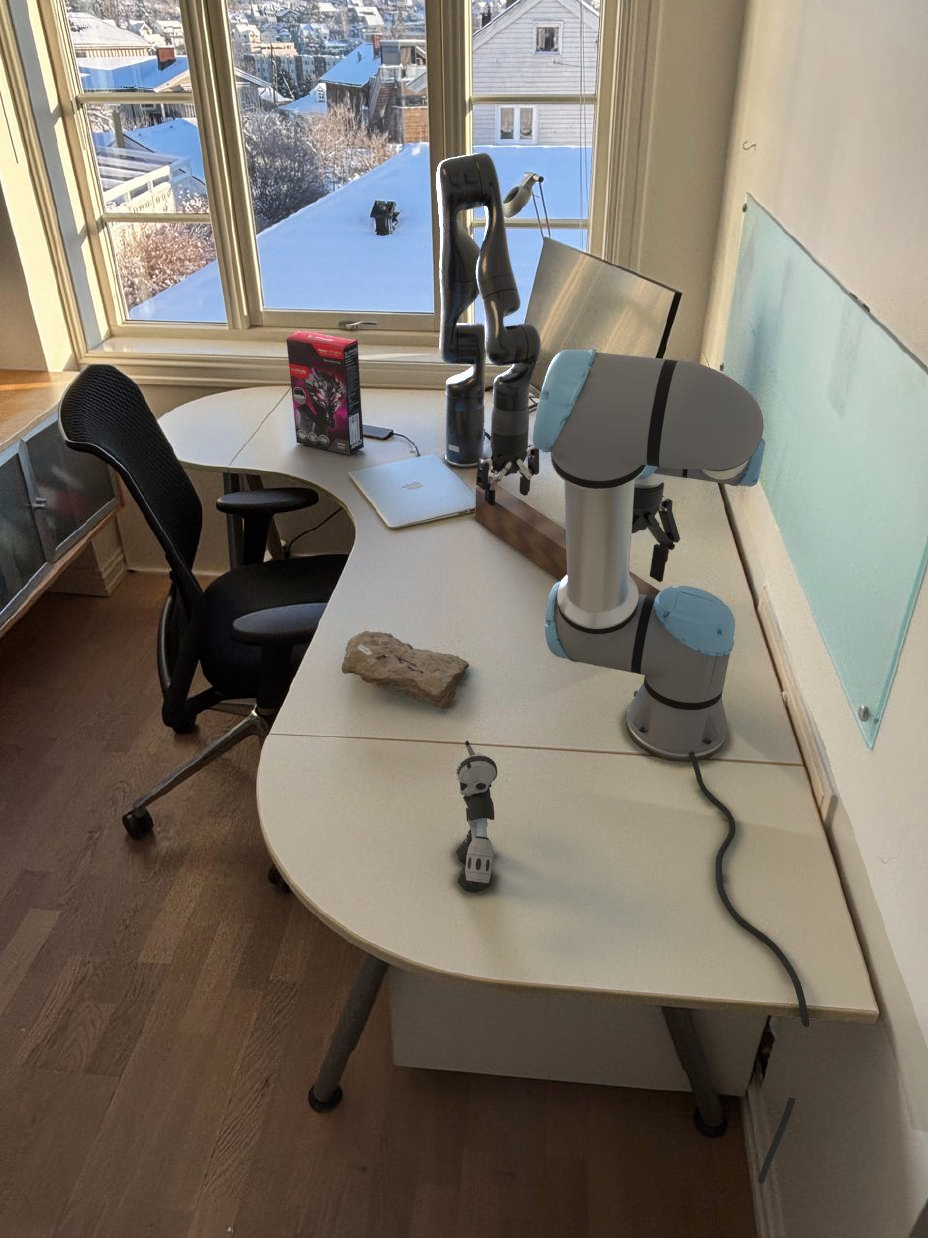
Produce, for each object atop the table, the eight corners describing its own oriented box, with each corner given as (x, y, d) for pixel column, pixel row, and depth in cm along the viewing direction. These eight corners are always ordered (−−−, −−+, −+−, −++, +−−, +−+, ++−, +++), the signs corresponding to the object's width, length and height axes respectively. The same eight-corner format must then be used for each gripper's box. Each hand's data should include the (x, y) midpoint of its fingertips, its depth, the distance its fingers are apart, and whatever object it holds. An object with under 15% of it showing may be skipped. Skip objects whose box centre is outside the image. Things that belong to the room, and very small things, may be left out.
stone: (317, 681, 147) (323, 648, 145) (352, 647, 161) (358, 617, 158) (439, 725, 144) (448, 692, 141) (465, 687, 157) (473, 656, 155)
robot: (499, 928, 112) (505, 811, 101) (459, 930, 112) (460, 812, 101) (488, 811, 128) (491, 699, 117) (453, 812, 128) (453, 700, 117)
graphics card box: (294, 443, 234) (283, 336, 218) (310, 434, 239) (300, 328, 224) (350, 457, 227) (343, 347, 212) (366, 447, 232) (360, 339, 217)
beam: (660, 629, 166) (665, 594, 162) (639, 637, 164) (644, 602, 160) (494, 513, 203) (495, 482, 199) (475, 518, 201) (475, 487, 197)
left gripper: (527, 413, 189) (524, 484, 199) (469, 427, 183) (468, 500, 192) (549, 425, 184) (545, 497, 194) (491, 440, 178) (489, 515, 187)
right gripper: (680, 457, 163) (664, 562, 174) (569, 487, 151) (560, 597, 163) (711, 471, 158) (693, 579, 169) (598, 504, 146) (587, 617, 157)
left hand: (507, 499), depth 193 cm, fingers open, 8 cm apart
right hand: (627, 588), depth 166 cm, fingers open, 13 cm apart
